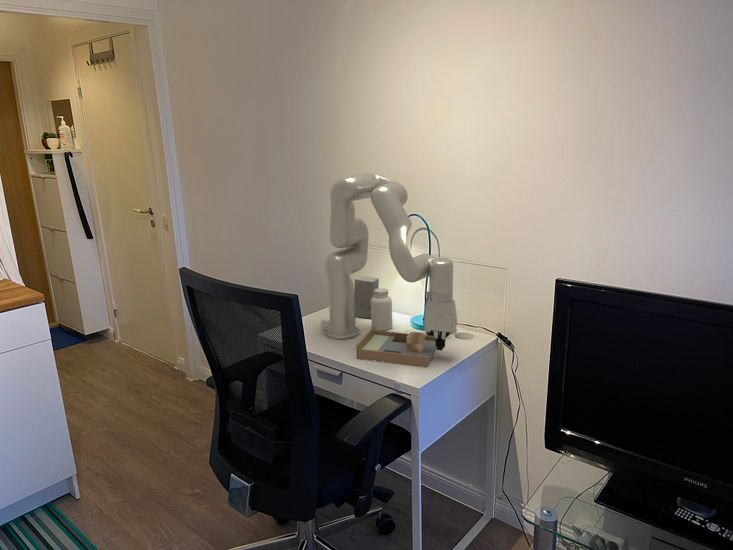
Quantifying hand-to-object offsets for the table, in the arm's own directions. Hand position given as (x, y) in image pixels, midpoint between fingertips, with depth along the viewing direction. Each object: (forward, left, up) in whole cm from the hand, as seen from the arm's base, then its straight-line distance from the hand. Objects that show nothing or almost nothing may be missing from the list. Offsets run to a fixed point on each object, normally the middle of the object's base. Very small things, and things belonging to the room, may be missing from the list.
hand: (440, 348), depth 187 cm
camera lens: (-5, +18, -3) cm, 19 cm away
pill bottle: (-27, +21, -3) cm, 35 cm away
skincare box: (-37, +32, -3) cm, 49 cm away
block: (-8, 0, -1) cm, 8 cm away
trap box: (-14, 0, -3) cm, 15 cm away
